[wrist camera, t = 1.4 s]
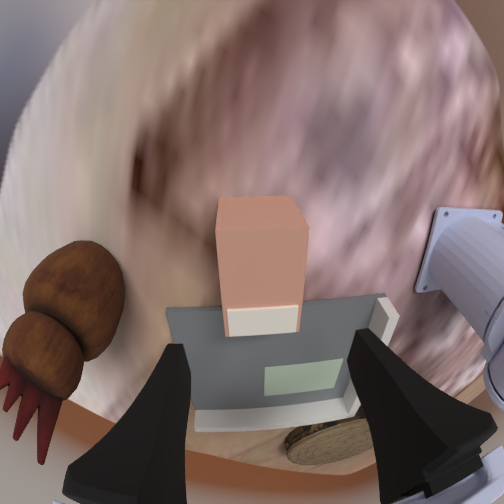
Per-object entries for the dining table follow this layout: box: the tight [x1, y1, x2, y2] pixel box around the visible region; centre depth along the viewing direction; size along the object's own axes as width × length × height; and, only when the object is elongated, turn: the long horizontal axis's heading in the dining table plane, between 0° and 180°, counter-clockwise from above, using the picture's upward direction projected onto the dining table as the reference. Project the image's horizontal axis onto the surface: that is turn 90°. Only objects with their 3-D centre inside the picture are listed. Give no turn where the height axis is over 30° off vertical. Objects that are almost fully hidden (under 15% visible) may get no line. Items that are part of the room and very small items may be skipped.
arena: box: [166, 293, 399, 432], centre depth 25 cm, size 18×16×3 cm
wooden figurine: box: [0, 240, 124, 465], centre depth 13 cm, size 7×6×15 cm
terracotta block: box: [215, 196, 309, 337], centre depth 18 cm, size 4×7×5 cm, turn 1°
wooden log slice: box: [285, 406, 373, 465], centre depth 35 cm, size 16×16×3 cm
